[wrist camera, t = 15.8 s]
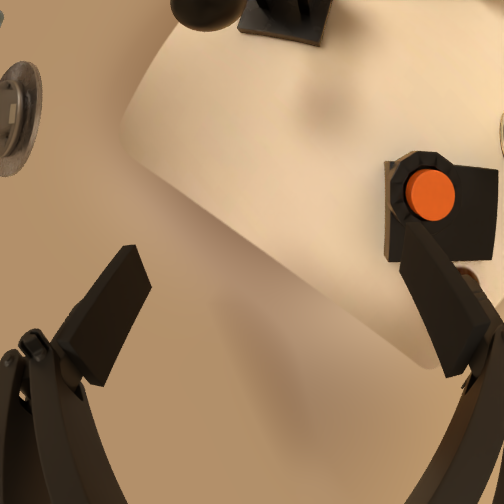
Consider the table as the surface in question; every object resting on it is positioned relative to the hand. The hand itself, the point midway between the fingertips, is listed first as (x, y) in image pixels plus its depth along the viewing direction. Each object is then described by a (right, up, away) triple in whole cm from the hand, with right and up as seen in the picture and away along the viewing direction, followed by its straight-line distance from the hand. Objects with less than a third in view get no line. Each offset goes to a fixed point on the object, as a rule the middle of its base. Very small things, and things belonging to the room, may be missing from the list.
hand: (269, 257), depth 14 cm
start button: (+14, +5, +7) cm, 16 cm away
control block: (+17, +4, +10) cm, 21 cm away
